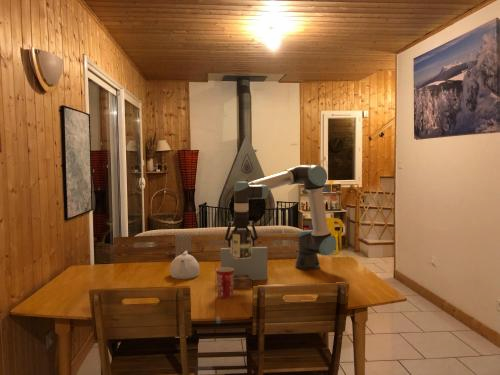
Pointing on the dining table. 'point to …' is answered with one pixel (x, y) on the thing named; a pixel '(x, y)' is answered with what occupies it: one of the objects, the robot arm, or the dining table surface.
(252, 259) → the backboard
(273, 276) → the dining table surface
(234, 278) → the cleat ledge
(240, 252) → the coffee can
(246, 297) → the dining table surface
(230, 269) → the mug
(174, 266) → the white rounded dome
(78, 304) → the dining table surface
